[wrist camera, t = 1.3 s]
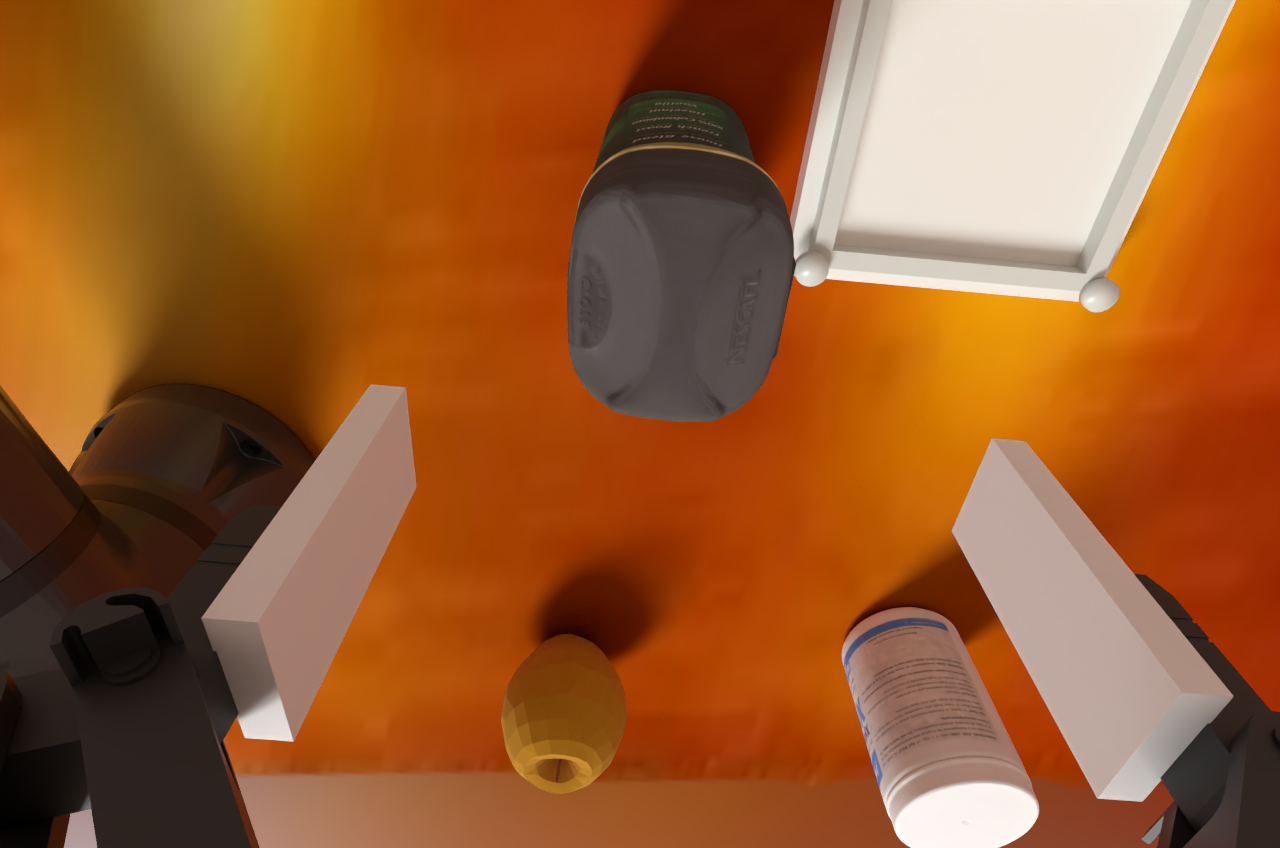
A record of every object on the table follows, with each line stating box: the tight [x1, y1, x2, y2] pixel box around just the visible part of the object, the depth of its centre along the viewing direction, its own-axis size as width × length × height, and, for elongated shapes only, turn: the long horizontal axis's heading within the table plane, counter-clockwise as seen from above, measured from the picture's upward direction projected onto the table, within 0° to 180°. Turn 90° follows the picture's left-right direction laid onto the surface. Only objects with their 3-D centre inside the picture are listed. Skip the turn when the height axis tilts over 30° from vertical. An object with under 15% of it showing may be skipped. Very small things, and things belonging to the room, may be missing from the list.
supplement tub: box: [842, 607, 1039, 848], centre depth 51 cm, size 10×10×15 cm
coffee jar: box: [567, 90, 796, 422], centre depth 30 cm, size 10×8×19 cm
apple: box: [501, 634, 627, 794], centre depth 54 cm, size 10×10×12 cm
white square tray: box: [790, 0, 1236, 312], centre depth 34 cm, size 18×18×3 cm
